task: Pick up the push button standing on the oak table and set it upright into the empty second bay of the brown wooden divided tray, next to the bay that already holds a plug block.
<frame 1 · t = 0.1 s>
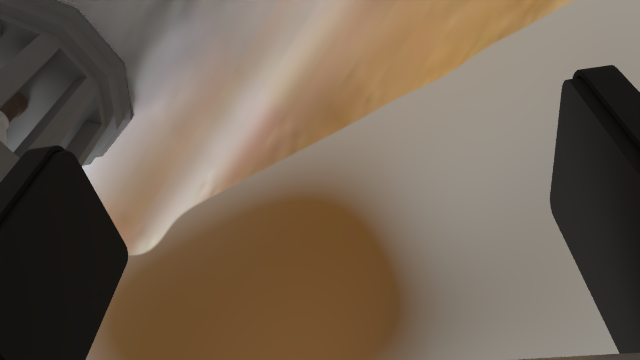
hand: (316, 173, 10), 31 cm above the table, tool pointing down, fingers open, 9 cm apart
lantern: (33, 80, 44), on the table
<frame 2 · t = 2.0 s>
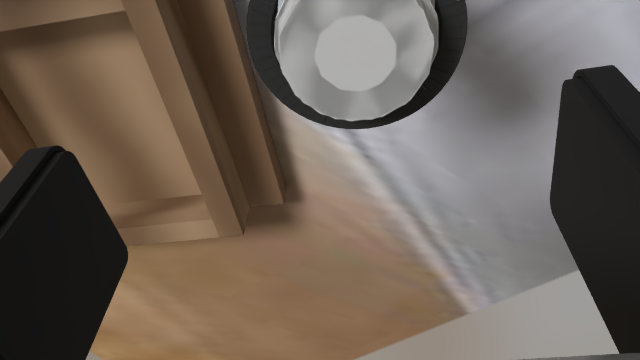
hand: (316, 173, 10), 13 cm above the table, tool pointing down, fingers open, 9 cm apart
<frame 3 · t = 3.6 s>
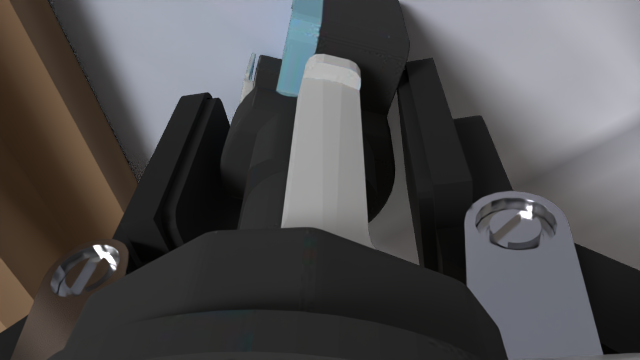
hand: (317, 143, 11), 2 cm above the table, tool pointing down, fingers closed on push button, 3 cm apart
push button: (308, 102, 13), on the table, touching gripper
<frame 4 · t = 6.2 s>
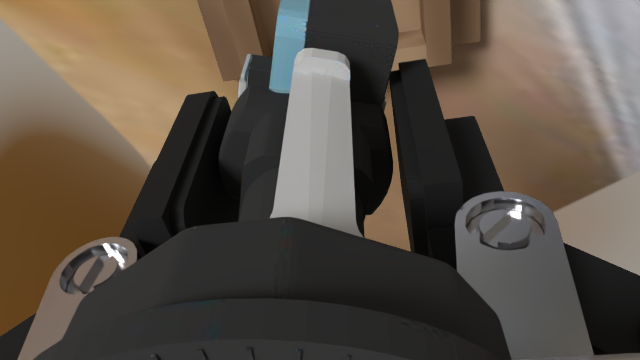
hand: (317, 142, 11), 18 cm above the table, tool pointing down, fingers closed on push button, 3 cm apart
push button: (308, 99, 13), point 16 cm above the table, touching gripper
when the fingers open (5 cm above the table, at t = 8.8 s): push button drops 1 cm, resting on brown wooden divided tray.
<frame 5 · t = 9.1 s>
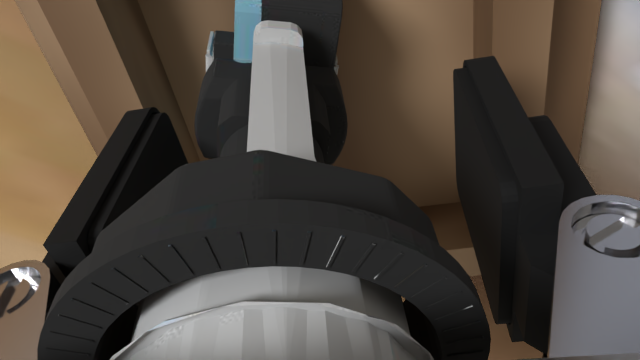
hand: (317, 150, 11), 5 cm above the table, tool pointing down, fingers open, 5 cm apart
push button: (270, 69, 14), point 1 cm above the table, touching brown wooden divided tray
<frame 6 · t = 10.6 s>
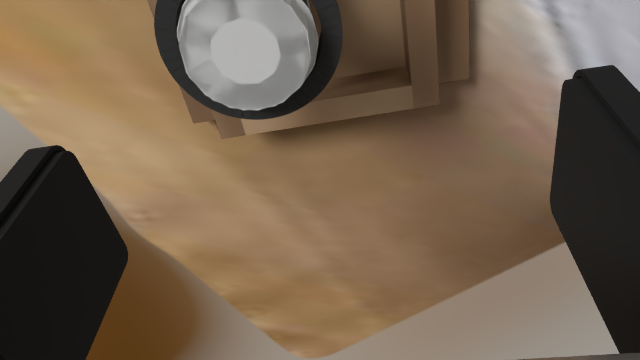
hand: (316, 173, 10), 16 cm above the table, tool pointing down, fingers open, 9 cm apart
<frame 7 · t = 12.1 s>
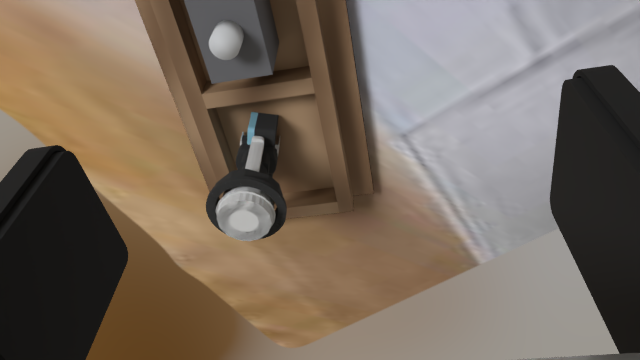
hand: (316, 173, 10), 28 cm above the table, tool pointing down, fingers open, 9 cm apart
brown wooden divided tray: (262, 73, 40), on the table
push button: (261, 142, 43), point 1 cm above the table, touching brown wooden divided tray
plug block: (240, 5, 36), point 1 cm above the table, touching brown wooden divided tray
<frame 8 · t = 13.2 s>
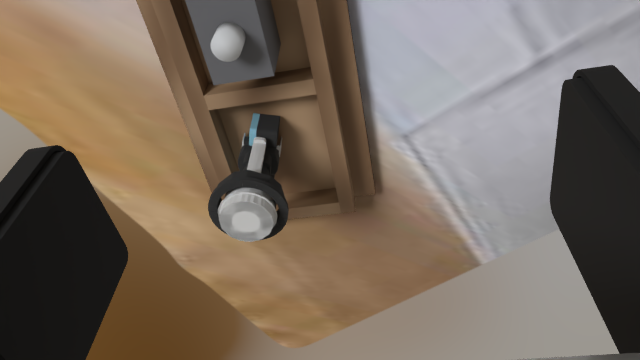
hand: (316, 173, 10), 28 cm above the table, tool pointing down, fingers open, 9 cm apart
brown wooden divided tray: (264, 74, 40), on the table
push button: (263, 143, 43), point 1 cm above the table, touching brown wooden divided tray
plug block: (242, 7, 36), point 1 cm above the table, touching brown wooden divided tray
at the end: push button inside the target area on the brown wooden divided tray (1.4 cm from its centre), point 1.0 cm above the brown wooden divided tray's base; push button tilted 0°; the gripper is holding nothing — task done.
